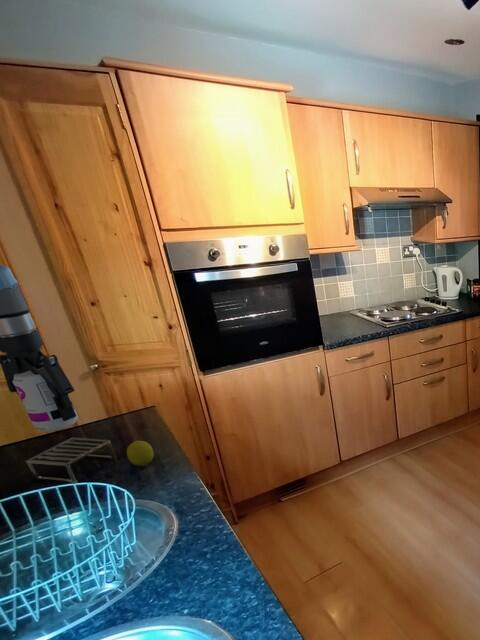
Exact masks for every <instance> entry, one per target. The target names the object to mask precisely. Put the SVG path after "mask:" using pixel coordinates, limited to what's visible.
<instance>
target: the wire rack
mask: <svg viewBox="0 0 480 640" xmlns="http://www.w3.org/2000/svg"><path fill="white" fill-rule="evenodd" d="M105 446H106V447H107V450H108V453H109V455H101V454H92V453H94V452H96V451H98V450H100V449H101V448H103V447H105ZM85 458H93V459H94V458H95V459H107V460H112V462H113V464H117V463H119V459H118V457H117V455H116V452H115V450H114V446H113V445H112V440H111V439H99V438H85V437H73V436H72V437H70V438H68V439H66V440H64V441H62V442H60V443H58V444H56V445H54V446H52V447H50V448H48V449H46V450H44V451H42V452H40V453H39V454H37V455H34V456H32V457H31V458H29V459H26V460H25V461H24V462H25V464H27V466H28V468H29V470H30V472H31V473H32V476H33V478H34V479H35V481H36V482H37V481H51V482H62V483H63V482H64V483H72V484H73V483H76V484H78V483H79V479H78V477H77V476H76V473H75V472H74V469H73V466H72V464H74V463H76V462H78V461H83V460H84V459H85ZM36 465H48V466H59V467H65V469H66V472H67V473H68V475H69V477H70V478H61V477H52V476H51V477H50V476H49V477H48V476H41V475H40V473H39V471H38V469H37V467H36Z"/></svg>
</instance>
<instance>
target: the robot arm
mask: <svg viewBox="0 0 480 640" xmlns="http://www.w3.org/2000/svg"><path fill="white" fill-rule="evenodd" d="M36 329H37V326H36V324H35V321H34V319H33V317H32V315H31V312H30V309H29V307H28V305H27V302H26V300H25V298H24V296H23V293H22V291H21V288H20V286H19V282H18V280H17V279H16V278H15V275H14V274H13V272H12V270H11V268H10V267H9V266H7V265H4V264H0V352H1V353H2V354H0V366H1V370H2V372H3V376H4V379H5V381H6V385H7V388H8V391H9V392H10V393H16V394H17V395H18V393H17V391H16V388H15V386H14V384H13V379H14V374H15V373H17V374H21V373H24V372H27V371H31V372H32V373H33V374H35V375H38V374H40V375H41V377H42V378H43V379H44V380H45V382H46V384H47V386H48V388H49V389H50V390H51V392H52V393H53V394H54V395H55V396H54V397H52V398H53V399H54V402H55V404H56V406H57V408H58V410H59V413H60V415H61V417H62V419H63V421H67V420H69V419H71V418H73V417H76V414H75V412H74V409H75V408H74V409H73V407H72V404H73V402H72V400H71V401H70V399H71V398H69V397H70V395H69V394H71V393H73V392H75V388H74V386H73V385H72V383H71V382H70V380H69V378H68V376H67V375H66V373H65V372H64V370H63V368H62V366H61V365H60V363H59V358H58V356H57V355H56V354H51V355H47V354H45V353H44V351H42V349H41V347H42V346H43V345H44V340H43V338H42V337H41V334H40V332H39V331H38V330H36ZM42 367H44V368H42ZM40 368H42V369H40ZM37 369H39V370H37ZM58 391H59V392H58ZM68 395H69V396H68ZM71 402H72V403H71Z"/></svg>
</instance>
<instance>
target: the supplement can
mask: <svg viewBox="0 0 480 640" xmlns="http://www.w3.org/2000/svg"><path fill="white" fill-rule="evenodd" d="M42 368H44V367H42ZM42 368H40V369H42ZM37 370H39V369H37ZM13 384H14V386H15V388H16V391H17V393H18V394H17V393H16V394H17V395H18V397H19V399H20V401H21V403H22V406H23V407H24V410H25V411H26V413H27V415H28V417H29V419H30V421H31V423H32V426H33V428H34V429H35V430H36V431H39V432H44V433H46V432H47V433H49V432H55V431H59V430H63V429H65V428H68V427H70V426H72V425H74V424H75V423H76V422H77V420H79V416H78V414H77V411H76V409H75V406H74V403H73V402H72V400H71V398H70V395H69V394H68V396H69V398H70V401H71V403H72V407H73V409H74V412H75V414H76V417H73V418H71V419H69V420H67V421H63V419H62V417H61V415H60V413H59V410H58V408H57V406H56V404H55V402H54V399H53V398H52V397H54V396H55V395H54V394H53V393H52V392H51V390H50V389H49V388H48V386H47V384H46V382H45V380H44V379H43V378H42V377H41V375H40V374H38V375H35V374H33V373H32V372H31V371H27V372H24V373H21V374H17V373H15V374H14V379H13ZM58 392H59V391H58Z"/></svg>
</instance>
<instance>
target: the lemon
mask: <svg viewBox="0 0 480 640" xmlns="http://www.w3.org/2000/svg"><path fill="white" fill-rule="evenodd" d="M154 455H155V454H154V449H153V447H152V445H151V444H150V443H148V442H147V441H145V440H134V441H133V442H132V443H130V444H129V445H128V446H127V449H126V456H127V459H128V461H129V462H130V463H131V464H133V465H134V466H142V467H146V466H147V465H148V464H149V463H151V462H152V460H153V459H154Z"/></svg>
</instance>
